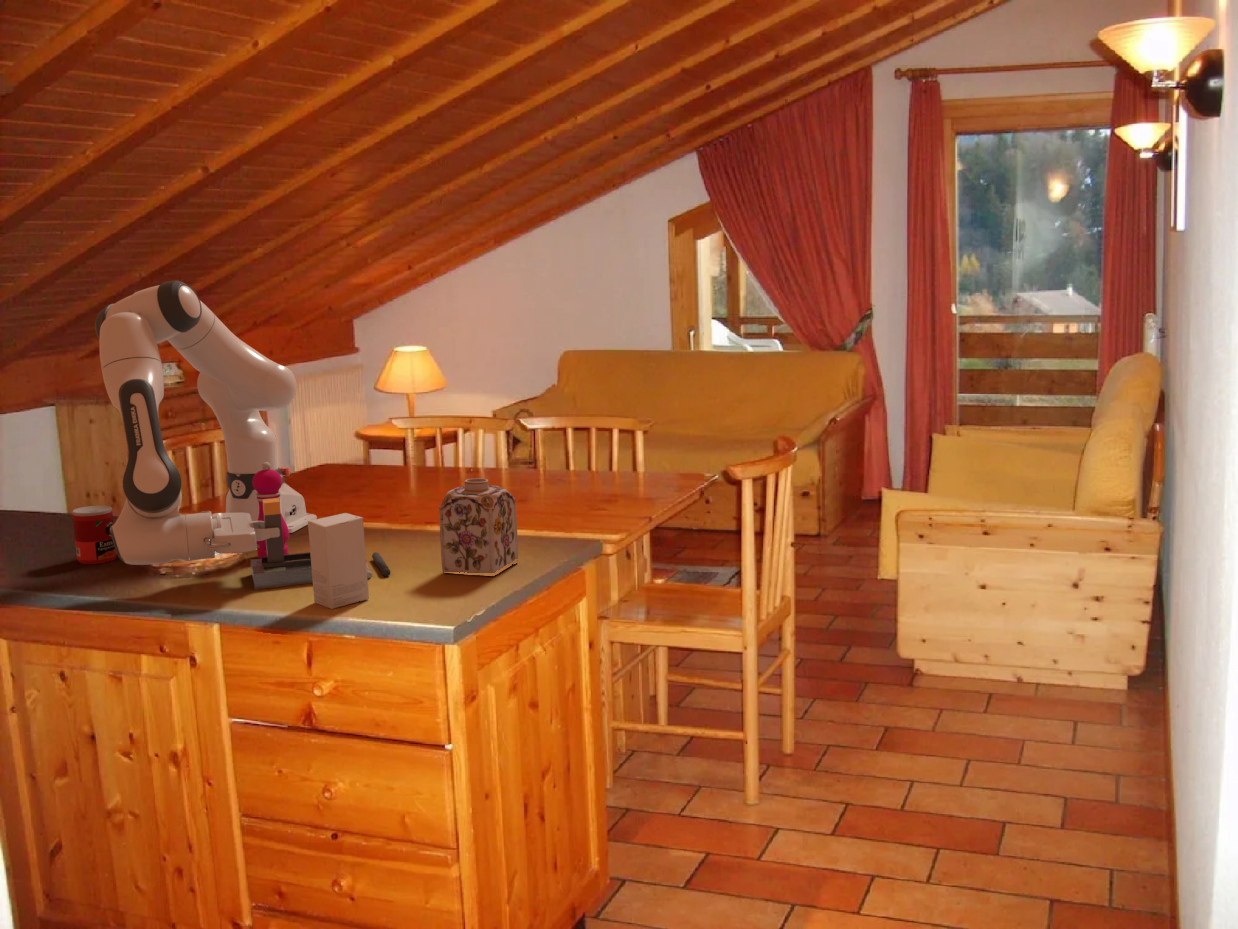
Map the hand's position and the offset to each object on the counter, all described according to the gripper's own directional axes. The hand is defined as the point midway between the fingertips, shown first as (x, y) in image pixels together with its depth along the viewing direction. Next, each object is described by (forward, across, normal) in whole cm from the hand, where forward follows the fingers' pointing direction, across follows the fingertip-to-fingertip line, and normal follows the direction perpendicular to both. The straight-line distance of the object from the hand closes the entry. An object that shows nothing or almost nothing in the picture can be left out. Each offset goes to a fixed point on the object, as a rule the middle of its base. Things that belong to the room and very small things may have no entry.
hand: (278, 528), depth 245 cm
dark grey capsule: (+18, 0, +10) cm, 20 cm away
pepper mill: (0, +20, +10) cm, 23 cm away
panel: (+4, 0, +10) cm, 11 cm away
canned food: (-36, +33, +10) cm, 49 cm away
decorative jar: (+38, -9, +10) cm, 40 cm away
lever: (-1, 0, +7) cm, 7 cm away
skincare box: (+9, -22, +10) cm, 25 cm away
